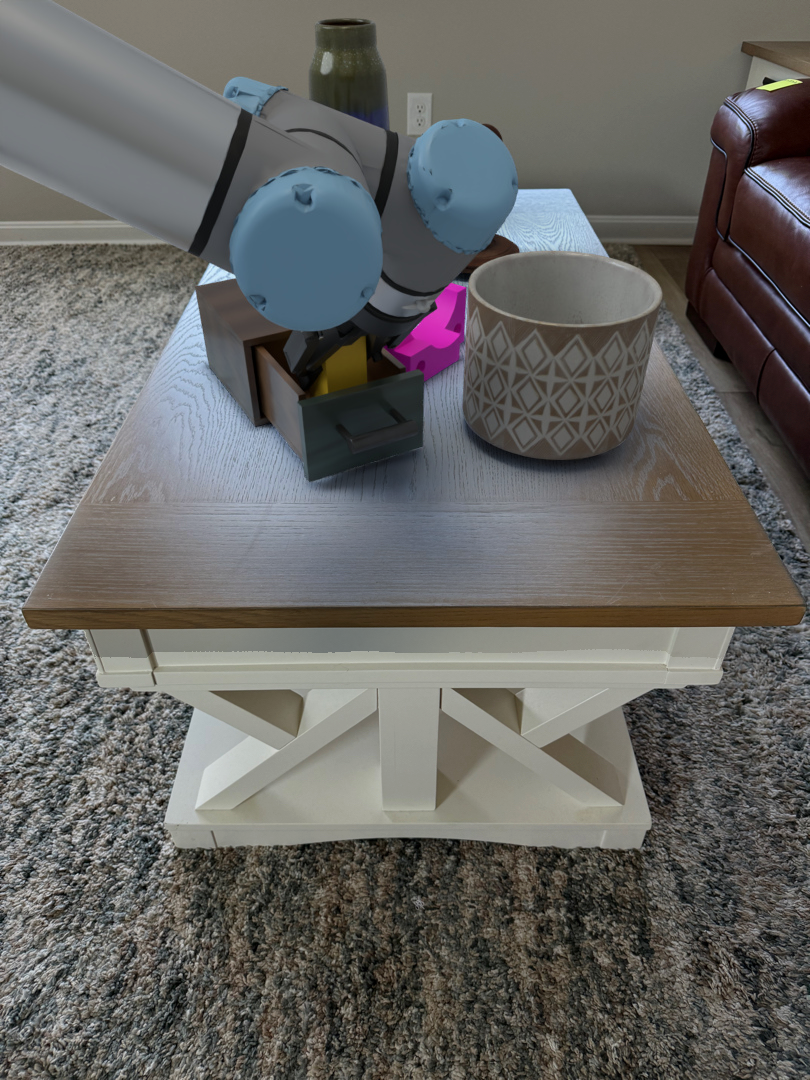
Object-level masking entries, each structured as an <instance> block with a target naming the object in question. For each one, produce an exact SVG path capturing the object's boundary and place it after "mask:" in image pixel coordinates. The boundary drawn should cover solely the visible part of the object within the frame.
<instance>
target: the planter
mask: <svg viewBox="0 0 810 1080" xmlns="http://www.w3.org/2000/svg"><path fill="white" fill-rule="evenodd" d="M663 295H664V294H663V289H662V287H661V286H660V284H659V283H658V281H657V280H656V279H655V278H654V277H653V276H652V275H650V273H647V272H646V271H645V270H643V269H641V268H639V267H637V266H635V265H633V264H630V263H628V262H625V261H623V260H619V259H616V258H612V257H608V256H605V255H600V254H595V253H589V252H580V251H574V250H573V251H572V250H531V251H523V252H520V253H516V254H510V255H506V256H502V257H499V258H496V259H493V260H491V261H488V262H486V263H484V264H483V265H481V266H480V267H478V268H477V269H476V270H475V271H474V272H473V273H470V276H469V279H468V287H467V302H466V321H465V340H464V342H465V345H464V359H463V361H464V363H463V379H462V381H463V382H462V400H461V402H462V403H461V410H462V415H463V418H464V420H465V422H466V424H467V425H468V427H469V428H470V429H471V430H472V431H473V433H475V434H476V435H477V436H478V437H480V438H481V439H482V440H484V442H487V443H488V444H490V445H492V446H494V447H496V448H498V449H501V450H503V451H506V452H509V453H511V454H514V455H519V456H523V457H528V458H533V459H539V460H550V461H568V460H580V459H585V458H590V457H595V456H598V455H601V454H604V453H607V452H609V451H611V450H613V449H615V448H617V447H618V446H620V445H621V444H622V443H623V442H625V441H626V440H627V438H628V437H629V436H630V435H631V433H632V432H633V431H634V428H635V424H636V421H637V416H638V411H639V407H640V403H641V397H642V393H643V388H644V384H645V379H646V374H647V370H648V365H649V361H650V356H651V351H652V347H653V343H654V337H655V333H656V329H657V324H658V319H659V315H660V310H661V306H662V301H663Z"/></svg>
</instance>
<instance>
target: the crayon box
mask: <svg viewBox="0 0 810 1080" xmlns="http://www.w3.org/2000/svg"><path fill="white" fill-rule="evenodd" d="M322 368H323V371H322V372H321V373H320V375H319V376H318V378H317V379H316V380H315V382H314V383H313V385H312V386H311V387H310V398H312V397H316V396H320V395H323V394H327V393H331V392H335V391H338V390H342V389H346V388H350V387H353V386H357V385H361V384H364V383H367V361H366V336H362V337H360V338H359V339H358V340H357V341H356V342H354V343H353V344H352V345H349V346H342V347H341V348H340V349H339V350H338V351H337V352H335V353H334V354H333V355H332V356H331V357H330V358H329V359H327V360H326V361H325V362H324V363H323V364H322Z"/></svg>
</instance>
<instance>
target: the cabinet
mask: <svg viewBox="0 0 810 1080" xmlns="http://www.w3.org/2000/svg"><path fill="white" fill-rule="evenodd" d="M194 290H195V295H196V296H195V297H196V301H197V307H198V313H199V318H200V324H201V330H202V335H203V341H204V347H205V352H206V358H207V363H208V367H209V368H210V369H211V371H212V372H213V373H214V375H215V376H216V377H217V379H218V380H219V381H220V383H221V385H223V386H224V388H225V390H226V391H227V392H228V393H229V394H230V396H231V397H232V398H233V400H234V401H235V402H236V404H237V405H238V407H239V408H240V409H241V410H242V412H243V413H244V414H245V416H246V417H247V418H248V419H249V421H250V422H251V423H252V424H253V426H254V427H258V426H259V427H260V426H263V425H266V424H270V423H271V422H270V421H269V419H268V418H267V417H266V416H265V414H264V413H263V412H262V411H261V409H260V403H259V397H258V389H257V382H256V375H255V368H254V360H253V353H252V346H253V345H257V344H261V343H265V342H270V341H274V340H278V339H283V338H287V337H290V335H291V333H292V331H293V330H291V329H288V328H284V327H282V326H279V325H277V324H275V323H273V322H271V321H270V320H268V319H266V318H265V317H264V316H263V315H261V314H260V313H259V312H258V311H257V310H256V309H255V308H254V307H253V306H252V305H251V304H250V303H249V301H248V300H247V298H246V297H245V295H244V294H243V292H242V291H241V289H240V287H239V285H238V283H237V280H236V277H234V278H229V279H225V280H220V281H214V282H209V283H205V284H199V285H195V286H194Z"/></svg>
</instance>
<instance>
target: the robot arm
mask: <svg viewBox="0 0 810 1080" xmlns="http://www.w3.org/2000/svg"><path fill="white" fill-rule="evenodd" d="M289 90H290V89H289V88H288V87H286V86H282V85H277V86H274V85H271V84H268V83H264V82H262V81H258V80H255V79H253V78H249V77H246V76H235V77H233V78H231V79H230V80H229V81H228V82H227V83H226V84H225V87H224V89H223V93H222V94H220V93H218V92H217V91H215V90H213V89H211V88H209V87H207V86H206V85H204V84H203V83H200V82H199V81H197V80H195V79H193V78H191V77H189V76H187V75H186V74H184V73H182V72H180V71H179V70H177V69H175V68H173V67H171V66H170V65H168V64H166V63H165V62H163V61H161V60H159V59H158V58H155V57H154V56H152V55H150V54H149V53H146V52H145V51H143V50H141V49H140V48H138V47H136V46H135V45H133V44H130V43H129V42H126V40H124V39H122V38H120V37H118V36H116V35H115V34H112V33H111V32H109V31H107V30H106V29H104V28H103V27H100V26H98V25H97V24H95V23H94V22H91V21H90V20H87V18H84V17H83V16H80V15H79V14H77V13H75V12H73V11H71V10H70V9H68V8H67V7H64V6H62V5H60V4H59V3H57V2H55V1H54V0H0V166H1V167H3V168H5V169H7V170H9V171H12V172H13V173H16V174H18V175H20V176H23V177H24V178H26V179H29V180H31V181H33V182H35V183H38V184H40V185H41V186H43V187H46V188H48V189H51V190H53V191H54V192H56V193H58V194H61V195H62V196H65V197H67V198H70V199H72V200H74V201H76V202H78V203H80V204H82V205H84V206H87V207H89V208H92V209H93V210H95V211H98V212H100V213H102V214H104V215H106V216H108V217H111V218H112V219H115V220H117V221H119V222H122V223H124V224H126V225H128V226H130V227H131V228H134V229H136V230H137V231H138V230H139V231H140V232H142V233H145V234H147V235H150V236H152V237H154V238H155V239H158V240H160V241H163V242H165V243H167V244H169V245H171V246H173V247H174V248H178V249H180V250H181V251H184V252H186V253H188V254H190V255H193V256H195V257H197V258H199V259H201V260H203V261H205V262H207V263H209V264H210V265H213V266H215V267H217V268H219V269H220V270H223V271H226V272H227V273H229V274H231V275H234V278H236V280H237V283H238V285H239V287H240V289H241V291H242V292H243V294H244V295H245V297H246V298H247V300H248V301H249V303H250V304H251V305H252V306H253V307H254V308H255V309H256V310H257V311H258V312H259V313H260V314H261V315H263V316H264V317H265V318H266V319H268V320H270V321H271V322H273V323H275V324H277V325H279V326H282V327H284V328H288V329H291V330H293V331H292V333H291V335H290V337H289V339H288V341H287V343H286V345H285V347H284V349H283V351H284V353H285V356H286V359H287V362H288V364H289V367H290V370H291V373H293V374H296V376H297V379H298V382H299V385H300V387H301V389H302V390H303V391H308V390H309V389H310V387H311V386H312V385H313V383H314V382H315V380H316V379H317V378H318V376H319V375H320V373H321V372H322V371H323V368H322V364H323V363H324V362H325V361H326V360H327V359H329V358H330V357H331V356H332V355H333V354H334V353H335V352H337V351H338V350H339V349H340V348H341V347H342V346H349V345H352V344H353V343H354V342H356V341H357V340H358V339H359V338H360V337H362V336H366V361H368V359H370V358H372V360H373V362H378V361H381V360H382V359H384V357H383V354H382V348H383V347H384V346H387V347H388V349H394V348H396V347H397V346H399V345H400V343H401V342H402V341H403V340H404V339H405V338H406V337H407V336H408V335H409V334H410V333H411V332H412V331H413V330H414V329H415V328H416V327H417V326H418V325H419V323H420V322H421V321H422V320H423V319H424V318H425V317H426V316H428V315H429V314H431V313H432V312H434V311H435V310H436V309H437V305H436V302H435V300H436V299H437V297H438V296H439V295H440V294H441V293H442V292H443V291H444V289H445V288H446V287H447V286H448V285H449V284H450V283H453V282H454V280H455V279H456V278H457V277H458V276H459V275H460V274H461V272H462V270H463V269H464V268H465V267H466V266H467V265H468V264H469V263H470V262H471V261H472V260H473V259H474V257H475V256H476V255H477V254H478V253H479V252H480V251H482V250H484V249H485V248H486V247H487V246H488V245H489V244H490V243H491V241H492V239H493V237H494V236H495V234H497V233H498V231H499V230H500V229H501V228H502V226H504V224H505V222H506V220H507V219H508V217H509V216H510V214H511V212H512V210H513V209H514V208H515V207H514V206H515V204H516V201H517V196H518V194H519V178H518V169H517V166H516V164H515V160H514V158H513V156H512V155H511V152H510V150H509V149H508V147H507V146H506V144H505V143H504V141H503V142H502V140H503V139H502V140H501V139H500V138H499V137H498V136H497V135H496V134H495V133H494V132H492V131H491V130H490V129H488V128H487V127H485V126H484V125H482V124H483V123H480V122H478V121H475V120H473V119H469V118H464V117H463V118H456V119H442V120H439V121H437V122H435V123H433V124H432V125H431V126H430V127H428V128H427V129H426V130H425V131H424V133H422V134H421V136H418V137H417V138H413V137H411V136H408V135H405V134H403V133H400V132H397V131H392V130H390V131H389V130H387V129H382V128H380V127H377V126H375V125H372V124H370V123H367V122H365V121H362V120H359V119H357V118H354V117H352V116H349V115H347V114H344V113H342V112H339V111H337V110H334V109H332V108H329V107H327V106H324V105H322V104H319V103H316V102H314V101H311V100H309V98H306V97H304V96H301V95H298V94H296V93H293V92H291V91H289Z"/></svg>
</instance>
